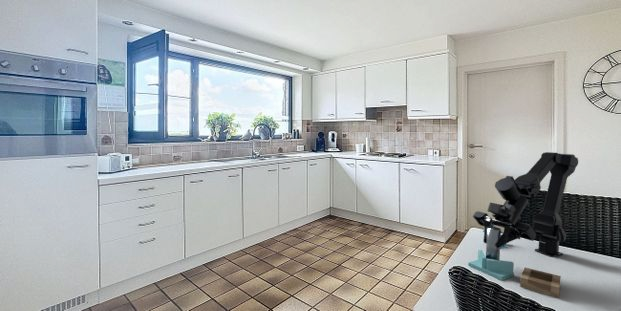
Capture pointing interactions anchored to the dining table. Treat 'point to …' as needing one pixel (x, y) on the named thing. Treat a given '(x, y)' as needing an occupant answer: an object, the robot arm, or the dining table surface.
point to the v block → (493, 266)
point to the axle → (493, 243)
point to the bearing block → (540, 282)
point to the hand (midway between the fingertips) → (490, 244)
